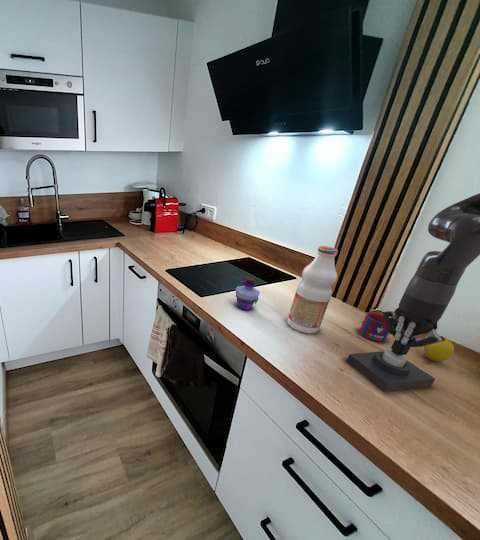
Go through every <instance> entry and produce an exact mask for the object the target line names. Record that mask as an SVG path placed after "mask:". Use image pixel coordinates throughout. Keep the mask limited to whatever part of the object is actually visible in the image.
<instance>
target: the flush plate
mask: <svg viewBox="0 0 480 540" xmlns="http://www.w3.org/2000/svg"><path fill="white" fill-rule="evenodd" d="M385 351H386V350H381V351H371V352H370V351H369V352H359V353H356V352H355V353H349V354H348V356H347V358H346V363H347V364H349V365H350V366H351V367H353V369H355V370H356V371H357V372H358V373H360V374H361V375H363V377H365V378H366V379H368V380H369V381H370V382H371V383H372V384H374V385H375V386H376V387H377V388H379V389H380V390H381V391H382V392H385V393H386V392H394V391H404V390H414V389H421V388H432V385H433V384H434V382H435V381H436V378H435V377H433V376H432V375H430V374H429V373H428V372H426V371H424V370H423V369H421V368H419V367H418V366H417V365H415V364H413V363H412V362H410V361H409V360H407V361H406V363H405V364H404V366H403V367H397V366H393V365H391V364H389V363H387V362H385V361H384V360H383V359H382V356H383V354H384V352H385Z"/></svg>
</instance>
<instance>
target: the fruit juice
mask: <svg viewBox="0 0 480 540" xmlns="http://www.w3.org/2000/svg"><path fill="white" fill-rule="evenodd" d="M338 252H339V251H338V248H335V247H332V246H326V245H322V246H321V245H320V246H318V248H317V254H316V255H315V257H314V259H313V260H312V261H311V262H310V263H309V264H308V265H306V266H304V268H303V270H302V273H301V281H299V283H298V285H297V287H296V289H295V293H294V297H293V300H292V303H291V307H290V310H289V313H288V316H287V320H286V321H287V324H288V326H289V327H290V328H292V329H294V330H295V331H298V332H301V333H304V334H316V333H317V332H318V331H319V330H320V328H321V325H322V323H323V320H324V317H325V314H326V311H327V310H328V306H329V303H330V301H331V298H332V295H333V286H334V285H335V284H336V283H337V280H338V273H337V270H336V265H335V263H336V262H335V257H336V256H337V255H338Z"/></svg>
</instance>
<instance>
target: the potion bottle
mask: <svg viewBox="0 0 480 540" xmlns="http://www.w3.org/2000/svg"><path fill="white" fill-rule="evenodd" d="M256 285H257V281H256V279H255V278H254V277H253V276H252V277H251V276H246V277H245V279H243V283H242V285H238V286H237V287H236V288H235V298H236V307H237V308H238V309H239V310H242V311H245V312H247V311H251V310H252V309H253V306H254V305H256V304H258V301H259V296H260V294H261V291H260V290H258V289H256Z"/></svg>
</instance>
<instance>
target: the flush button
mask: <svg viewBox="0 0 480 540" xmlns="http://www.w3.org/2000/svg"><path fill="white" fill-rule="evenodd" d="M384 351H385V352H384V354H383V356H382V359H383V360H384V361H385V362H387V363H389V364H391V365H393V366H397V367H403V366H404V364H405V363H406V361H408V359H407V357H406V355H401V356H397V355H396V354H394V353H393V352H392V349H390V350H389V349H387V350H384Z"/></svg>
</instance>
